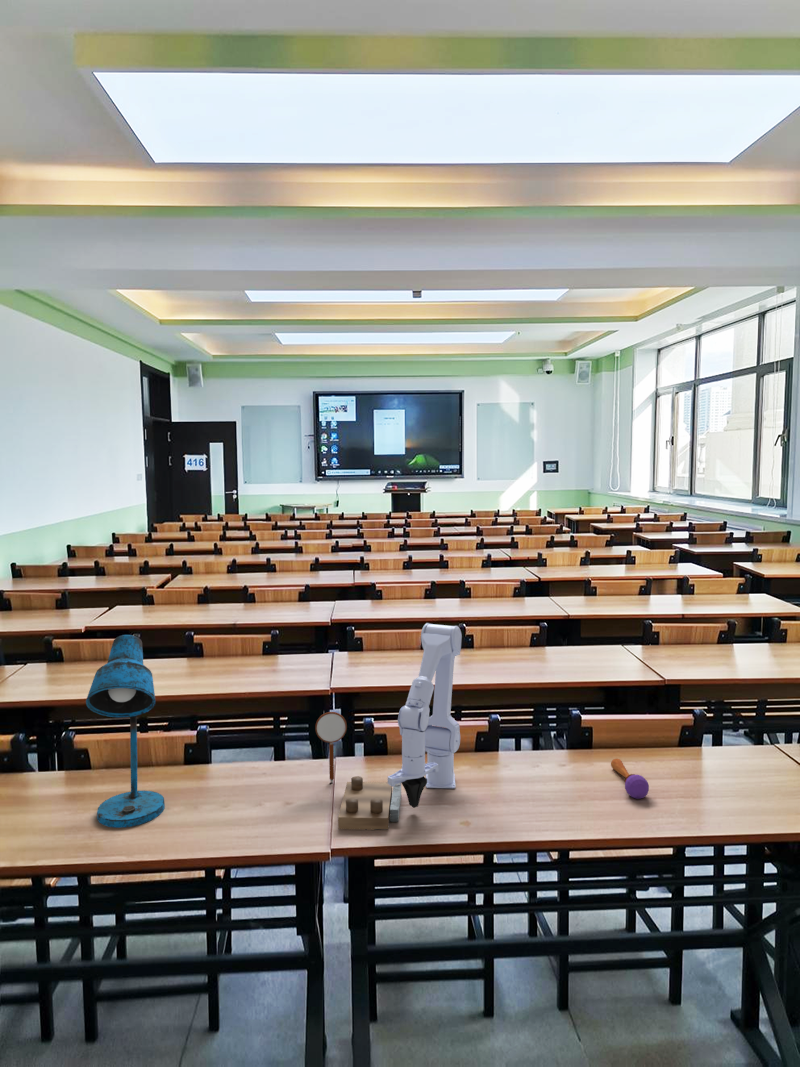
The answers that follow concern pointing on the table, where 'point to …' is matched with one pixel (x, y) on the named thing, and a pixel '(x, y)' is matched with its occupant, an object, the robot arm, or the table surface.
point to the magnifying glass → (331, 733)
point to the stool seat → (365, 805)
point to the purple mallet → (631, 780)
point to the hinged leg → (395, 803)
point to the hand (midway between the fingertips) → (413, 805)
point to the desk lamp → (130, 694)
